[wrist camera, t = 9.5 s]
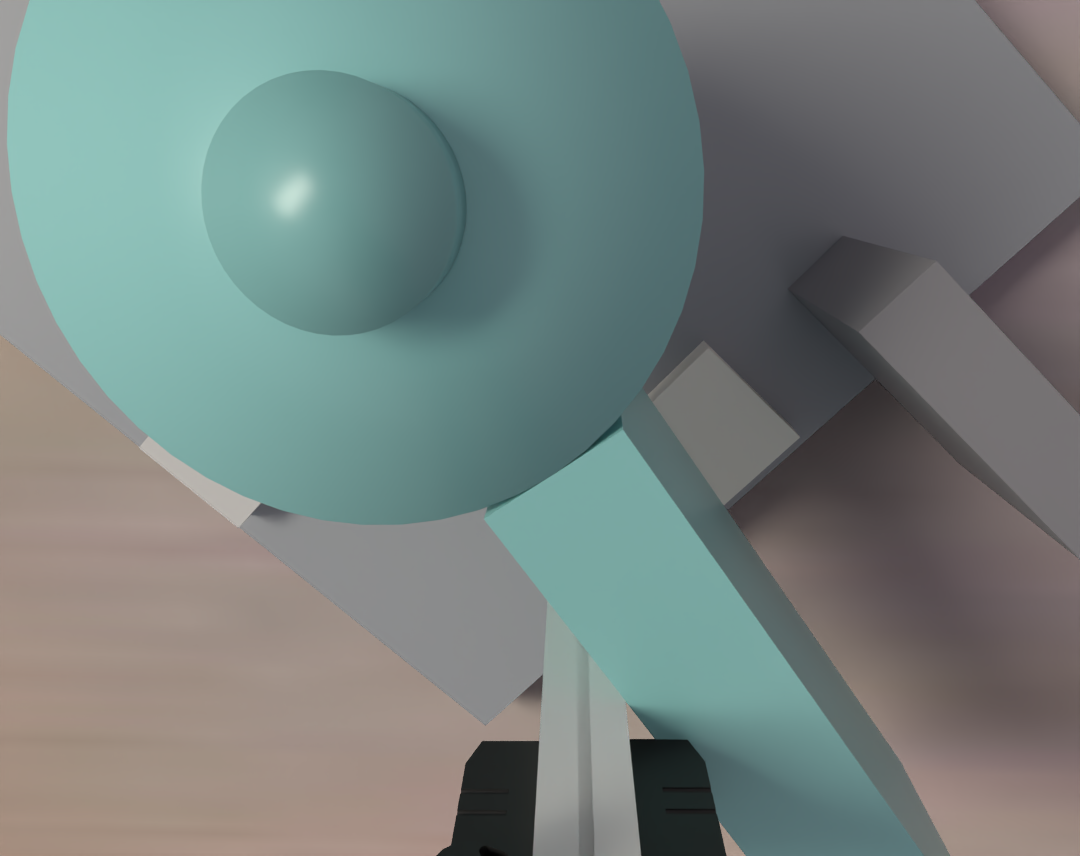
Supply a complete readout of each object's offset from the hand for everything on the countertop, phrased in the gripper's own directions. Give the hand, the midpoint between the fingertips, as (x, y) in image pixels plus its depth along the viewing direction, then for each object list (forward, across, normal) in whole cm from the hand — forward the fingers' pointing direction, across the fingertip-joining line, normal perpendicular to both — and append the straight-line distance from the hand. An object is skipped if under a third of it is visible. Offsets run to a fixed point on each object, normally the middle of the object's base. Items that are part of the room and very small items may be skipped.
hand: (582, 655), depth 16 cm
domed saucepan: (+3, +1, +4) cm, 5 cm away
